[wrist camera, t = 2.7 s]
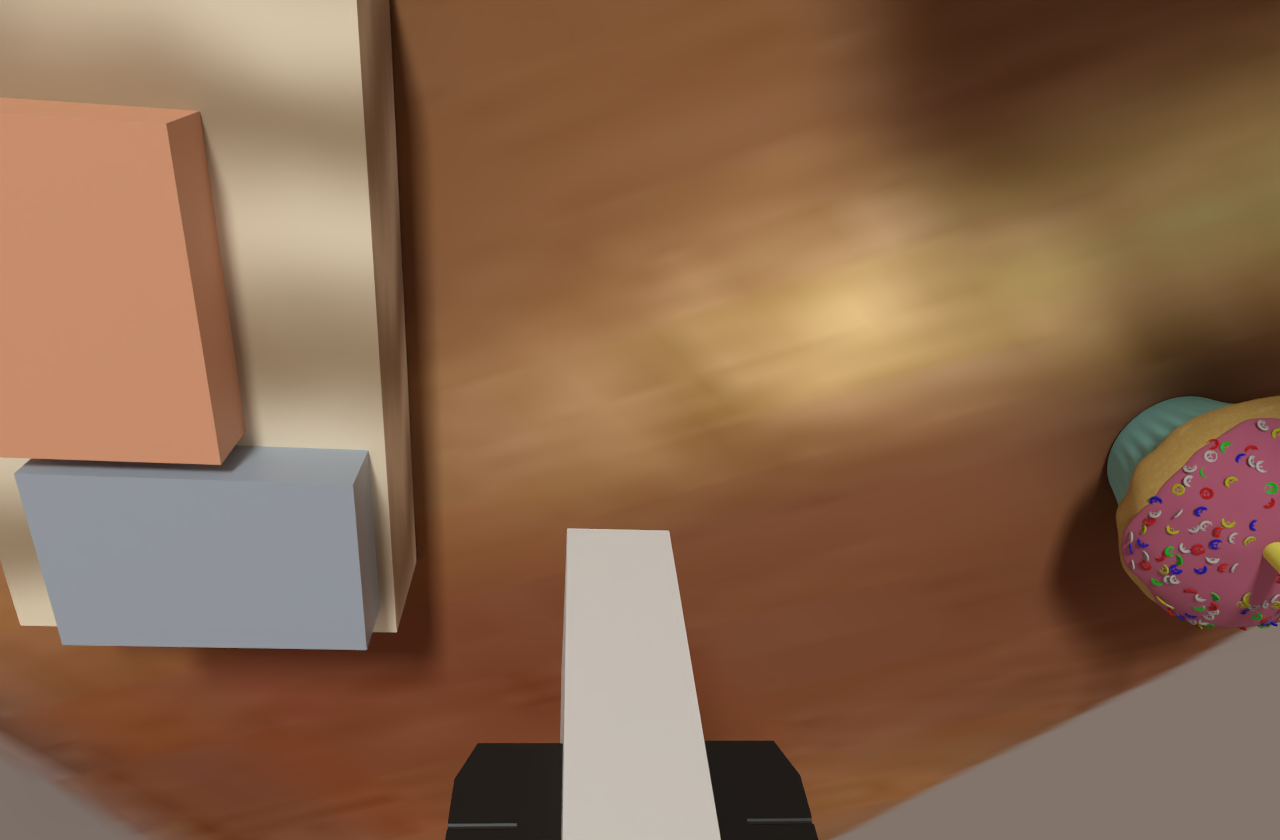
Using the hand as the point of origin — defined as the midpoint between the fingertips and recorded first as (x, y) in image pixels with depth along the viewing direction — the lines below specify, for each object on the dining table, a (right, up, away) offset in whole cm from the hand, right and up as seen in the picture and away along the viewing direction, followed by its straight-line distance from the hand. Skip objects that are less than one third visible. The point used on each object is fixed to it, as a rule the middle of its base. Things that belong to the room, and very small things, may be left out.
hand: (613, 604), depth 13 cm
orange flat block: (-14, +6, +9) cm, 18 cm away
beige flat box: (-13, +7, +15) cm, 21 cm away
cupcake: (+20, +2, +20) cm, 28 cm away
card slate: (-12, -1, +13) cm, 18 cm away
